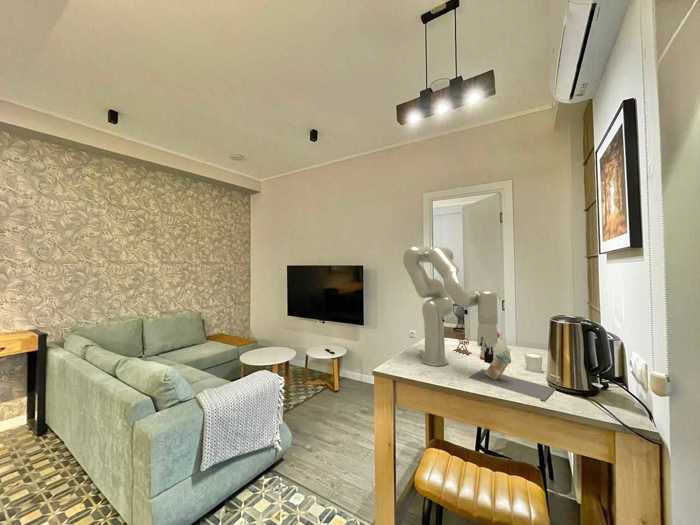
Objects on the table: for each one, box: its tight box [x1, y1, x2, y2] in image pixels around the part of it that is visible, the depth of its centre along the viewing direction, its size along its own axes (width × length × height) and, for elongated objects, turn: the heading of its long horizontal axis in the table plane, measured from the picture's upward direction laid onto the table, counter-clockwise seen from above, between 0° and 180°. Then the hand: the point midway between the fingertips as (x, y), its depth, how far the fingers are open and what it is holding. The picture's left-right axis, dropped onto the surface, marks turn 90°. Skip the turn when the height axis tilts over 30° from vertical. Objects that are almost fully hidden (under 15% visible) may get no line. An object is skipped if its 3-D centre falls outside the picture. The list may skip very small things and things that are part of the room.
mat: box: [467, 369, 556, 402], centre depth 116 cm, size 28×14×1 cm, turn 41°
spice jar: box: [486, 353, 512, 381], centre depth 120 cm, size 4×4×10 cm
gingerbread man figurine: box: [453, 330, 473, 356], centre depth 158 cm, size 9×4×12 cm, turn 34°
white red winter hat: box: [479, 331, 512, 365], centre depth 146 cm, size 14×14×15 cm
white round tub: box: [524, 352, 543, 374], centre depth 130 cm, size 7×7×7 cm
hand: (488, 362), depth 123 cm, fingers closed
